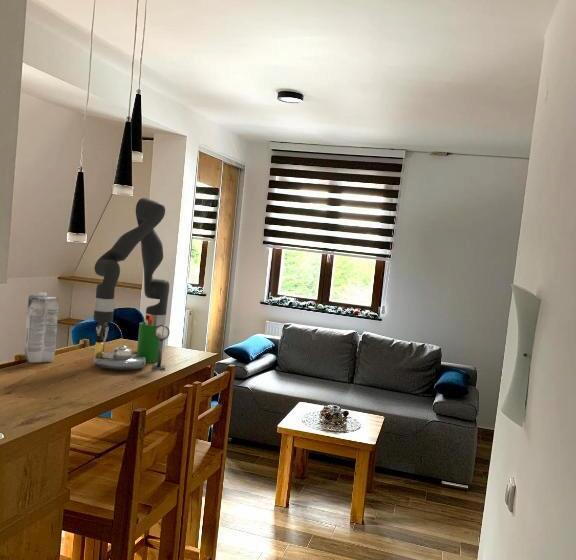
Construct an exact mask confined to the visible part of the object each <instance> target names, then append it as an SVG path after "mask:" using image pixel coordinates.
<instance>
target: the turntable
mask: <svg viewBox="0 0 576 560" xmlns="http://www.w3.org/2000/svg"><path fill="white" fill-rule="evenodd" d="M103 345H104V346H105V343H103V342H96V341H95V348H94V356H93V365H95V366H98V367H100V368H106V369H108V368H111V369H110V370H112V369H130V370H134V369H135V370H137V369H140V368H143V367H145V366H146V363H147V362H146V358H145V357H143V356H141V355H137V353H132V354H131V359H129V360H119V359H114V358H113V352H114V351H113V352H103Z"/></svg>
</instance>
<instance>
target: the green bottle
mask: <svg viewBox="0 0 576 560" xmlns="http://www.w3.org/2000/svg"><path fill="white" fill-rule="evenodd" d="M145 317H146V319H145V318H144V319H145V320H148V325H146V322H145V321H142V322H139V328H138V337H137V348H136V349H137V350H136V354H137V355H141V356H143V357H145V358H146V363H157V360H158V349H159V339H157V338H156V337H155V334H154V331H155V328H156V327H157V326H154V325H153V315H150V314H147V315H146V314H145Z"/></svg>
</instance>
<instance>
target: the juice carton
mask: <svg viewBox="0 0 576 560" xmlns="http://www.w3.org/2000/svg"><path fill="white" fill-rule="evenodd" d="M27 300H28V302H27V311H26V322H25V323H26V324H25V336H24V337H25V338H24V355H25V356H24V357H25V359H26V360H27V361H28V362H29V363H33V364H34V363H37V364H38V363H52V362H53V359H54V357H55V353H56V342H57V330H58V318H59V317H58V316H59V298H57V297H55V296H54V295H47V292H38V295H34V294H33V295H32V294H31V295H29V296H28V299H27Z"/></svg>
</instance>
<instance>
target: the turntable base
mask: <svg viewBox="0 0 576 560" xmlns="http://www.w3.org/2000/svg"><path fill="white" fill-rule="evenodd" d="M107 369H109V370H114V371H129V369H111V368H107Z"/></svg>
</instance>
